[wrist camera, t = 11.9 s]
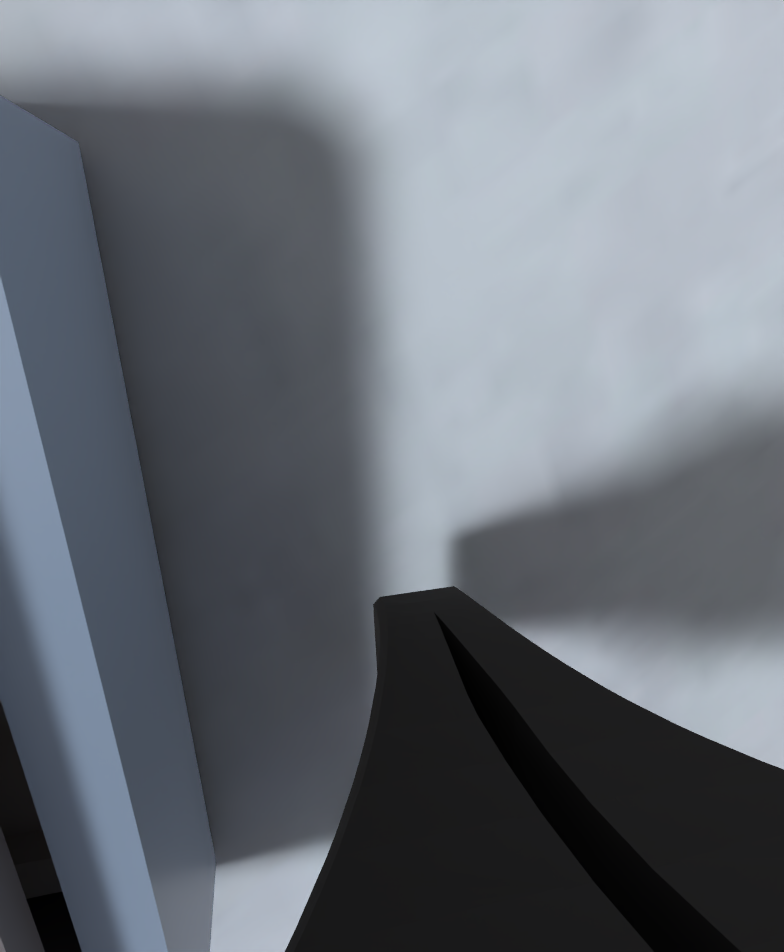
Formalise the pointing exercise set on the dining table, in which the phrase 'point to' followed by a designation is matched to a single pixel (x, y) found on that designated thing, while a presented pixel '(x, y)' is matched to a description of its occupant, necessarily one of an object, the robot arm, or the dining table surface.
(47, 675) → the tray
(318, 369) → the dining table surface
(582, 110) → the dining table surface
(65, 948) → the box
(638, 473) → the dining table surface
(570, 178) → the dining table surface
